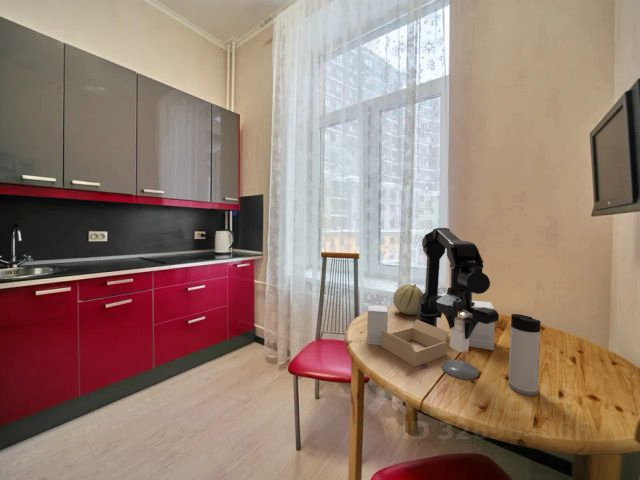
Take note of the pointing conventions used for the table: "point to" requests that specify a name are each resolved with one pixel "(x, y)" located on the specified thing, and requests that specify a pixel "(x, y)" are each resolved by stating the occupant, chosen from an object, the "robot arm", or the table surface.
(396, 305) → the cantaloupe
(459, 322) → the salt shaker
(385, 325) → the supplement box
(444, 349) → the carton
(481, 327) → the supplement box
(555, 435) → the table surface
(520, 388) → the travel mug
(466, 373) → the coaster
